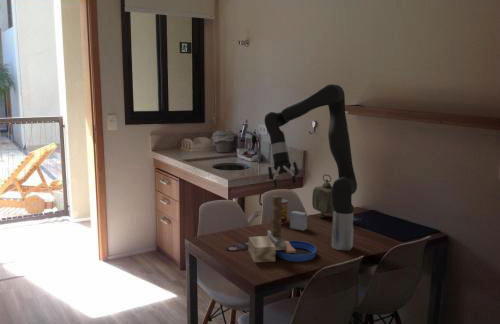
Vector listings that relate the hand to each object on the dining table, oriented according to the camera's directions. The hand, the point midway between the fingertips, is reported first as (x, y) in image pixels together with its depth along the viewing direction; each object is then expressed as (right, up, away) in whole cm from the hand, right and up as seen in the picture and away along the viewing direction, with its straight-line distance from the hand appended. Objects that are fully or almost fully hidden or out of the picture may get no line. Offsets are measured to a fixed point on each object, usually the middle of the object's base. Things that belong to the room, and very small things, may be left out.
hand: (285, 185), depth 215 cm
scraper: (-6, -23, -18) cm, 30 cm away
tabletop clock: (+26, -21, +43) cm, 54 cm away
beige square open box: (-10, -30, -18) cm, 36 cm away
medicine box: (+8, -24, +21) cm, 33 cm away
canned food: (-1, -22, +33) cm, 39 cm away
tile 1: (0, -27, -21) cm, 34 cm away
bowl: (+3, -30, -15) cm, 34 cm away
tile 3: (-2, -26, -12) cm, 29 cm away
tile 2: (-1, -26, -17) cm, 31 cm away
